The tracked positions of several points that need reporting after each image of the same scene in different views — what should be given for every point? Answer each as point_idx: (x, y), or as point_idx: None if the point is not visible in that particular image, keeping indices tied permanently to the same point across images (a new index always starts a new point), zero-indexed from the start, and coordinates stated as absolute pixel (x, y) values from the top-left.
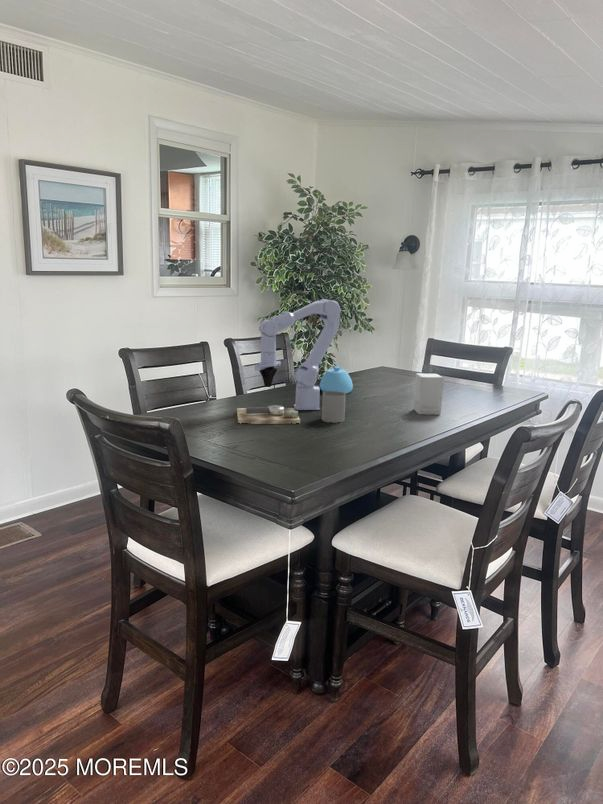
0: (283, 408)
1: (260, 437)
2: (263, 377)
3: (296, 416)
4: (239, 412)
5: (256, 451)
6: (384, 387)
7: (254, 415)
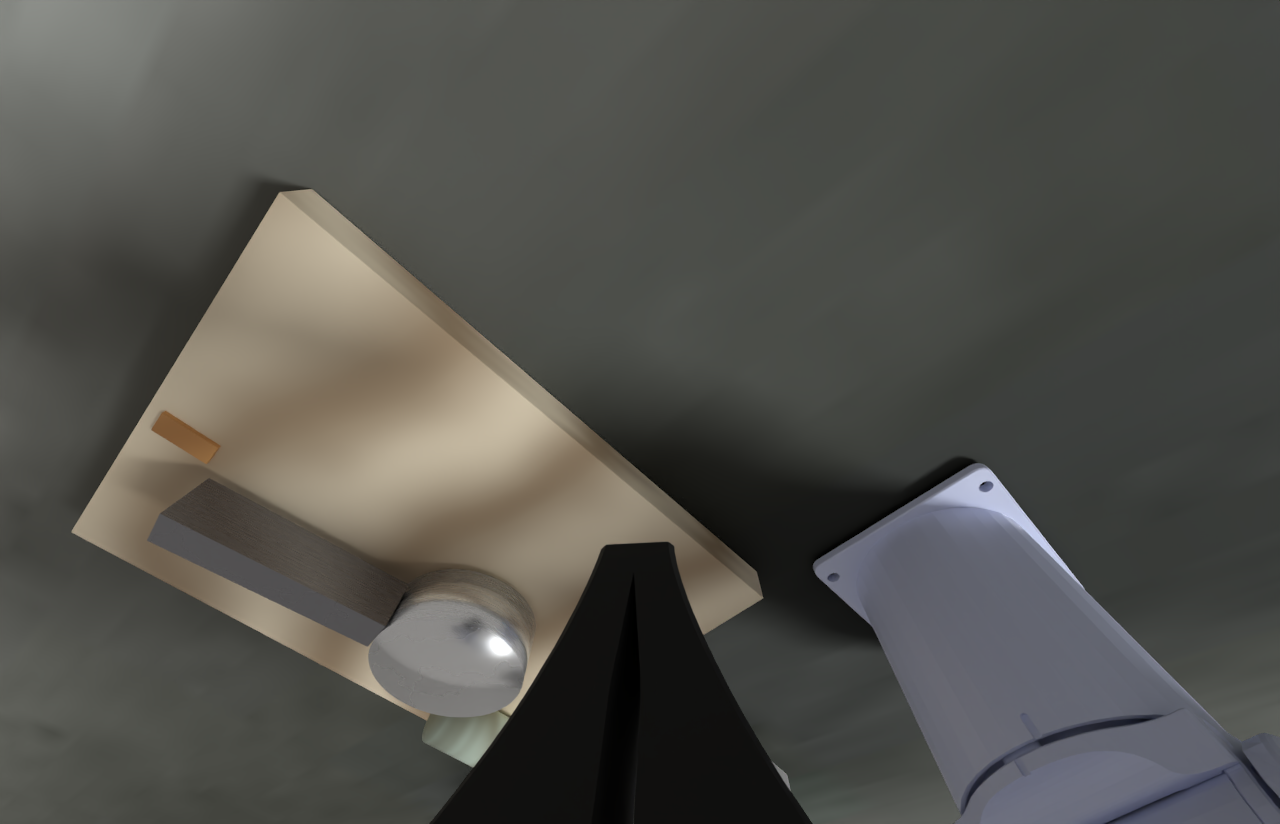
0: (479, 712)
1: (122, 731)
2: (519, 740)
3: None
4: (203, 365)
5: (7, 806)
6: None
7: None
